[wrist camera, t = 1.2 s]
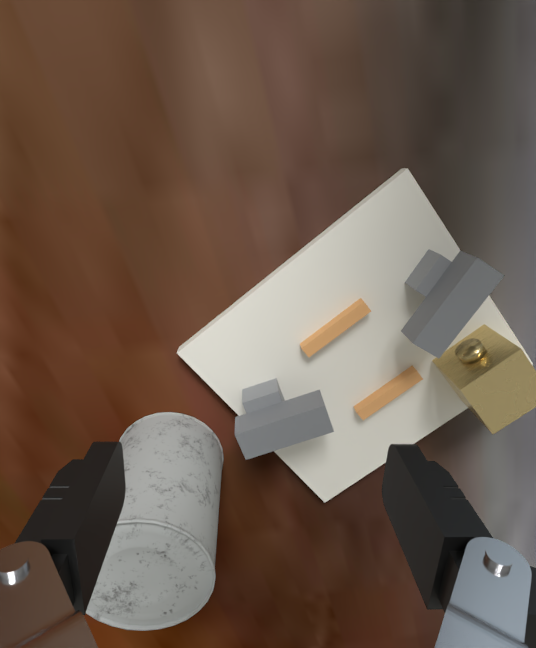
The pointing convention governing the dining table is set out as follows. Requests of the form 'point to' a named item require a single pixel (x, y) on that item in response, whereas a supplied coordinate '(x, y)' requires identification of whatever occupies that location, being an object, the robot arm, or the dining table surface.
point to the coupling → (490, 377)
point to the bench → (350, 340)
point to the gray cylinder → (162, 526)
